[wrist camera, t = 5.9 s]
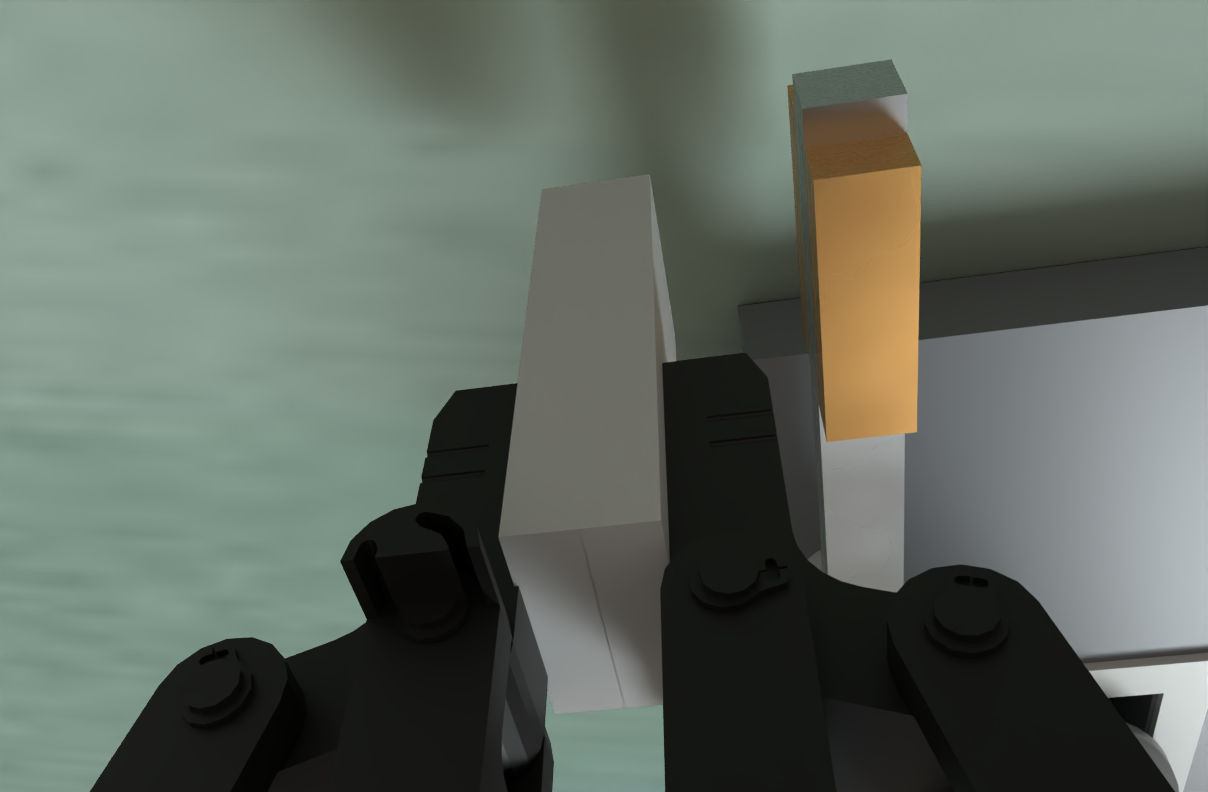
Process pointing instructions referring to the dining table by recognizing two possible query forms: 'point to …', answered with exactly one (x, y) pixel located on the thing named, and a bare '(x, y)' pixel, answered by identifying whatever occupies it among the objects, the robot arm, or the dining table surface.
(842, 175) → the clip
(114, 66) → the dining table surface
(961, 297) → the grey slotted tray
